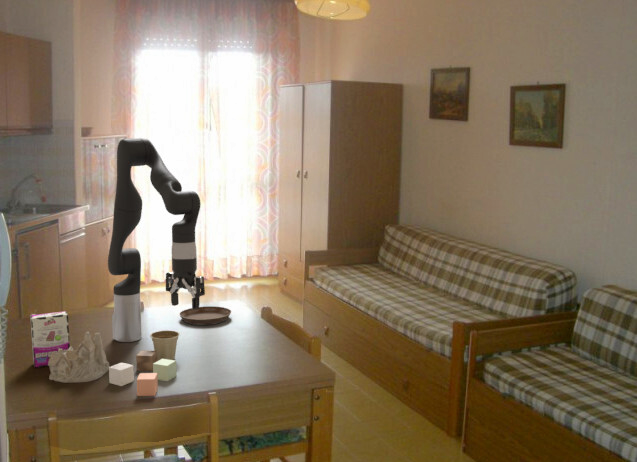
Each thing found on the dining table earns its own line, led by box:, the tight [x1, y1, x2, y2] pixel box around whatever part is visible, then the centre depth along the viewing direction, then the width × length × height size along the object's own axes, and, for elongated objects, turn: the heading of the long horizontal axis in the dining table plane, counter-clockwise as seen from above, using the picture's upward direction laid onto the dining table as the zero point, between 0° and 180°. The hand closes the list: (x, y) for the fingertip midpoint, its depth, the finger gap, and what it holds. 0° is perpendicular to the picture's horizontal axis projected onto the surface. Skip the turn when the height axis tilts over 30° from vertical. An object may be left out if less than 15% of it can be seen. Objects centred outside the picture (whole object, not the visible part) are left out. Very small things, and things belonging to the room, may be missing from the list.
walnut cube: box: [135, 349, 157, 372], centre depth 211 cm, size 5×5×5 cm
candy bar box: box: [29, 311, 71, 368], centre depth 214 cm, size 11×5×16 cm, turn 117°
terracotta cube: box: [136, 372, 159, 397], centre depth 192 cm, size 5×5×5 cm
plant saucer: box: [179, 305, 232, 326], centre depth 267 cm, size 21×21×3 cm
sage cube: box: [152, 359, 177, 382], centre depth 203 cm, size 5×5×5 cm
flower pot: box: [149, 329, 180, 361], centre depth 219 cm, size 9×9×9 cm
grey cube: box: [108, 362, 135, 387], centre depth 199 cm, size 5×5×5 cm
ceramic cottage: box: [47, 331, 111, 384], centre depth 205 cm, size 16×16×15 cm
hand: (185, 307), depth 206 cm, fingers open, 8 cm apart
